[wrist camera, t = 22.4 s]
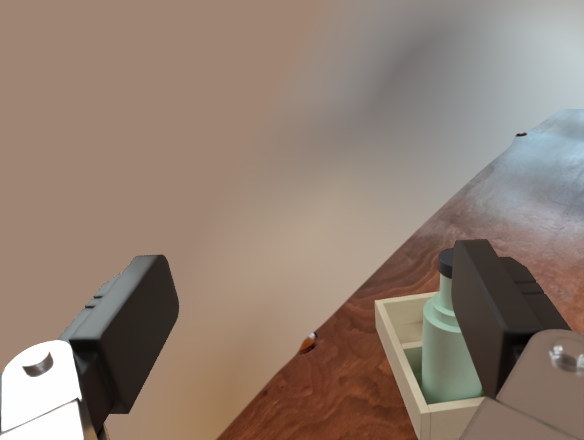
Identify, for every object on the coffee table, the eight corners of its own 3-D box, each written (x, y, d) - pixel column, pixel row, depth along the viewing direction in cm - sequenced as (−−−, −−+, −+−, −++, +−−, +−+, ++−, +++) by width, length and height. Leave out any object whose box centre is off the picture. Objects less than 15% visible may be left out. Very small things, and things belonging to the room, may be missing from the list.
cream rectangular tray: (420, 445, 37) (420, 413, 36) (375, 327, 52) (374, 300, 50) (514, 432, 37) (519, 399, 36) (443, 317, 52) (445, 290, 50)
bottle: (432, 423, 38) (438, 279, 32) (414, 379, 43) (415, 245, 36) (490, 415, 38) (508, 270, 32) (465, 372, 43) (476, 237, 36)
